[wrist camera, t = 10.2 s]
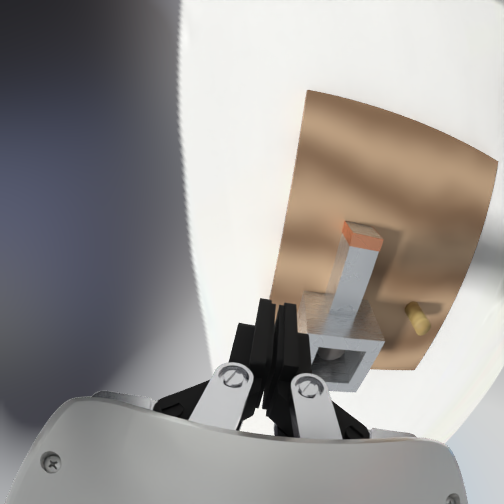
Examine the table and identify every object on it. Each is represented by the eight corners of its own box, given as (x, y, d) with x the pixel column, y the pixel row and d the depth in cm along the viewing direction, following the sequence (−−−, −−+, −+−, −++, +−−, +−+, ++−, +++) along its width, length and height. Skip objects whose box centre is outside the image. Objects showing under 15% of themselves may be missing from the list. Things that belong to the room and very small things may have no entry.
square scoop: (346, 349, 26) (355, 392, 21) (288, 342, 27) (288, 386, 21) (391, 230, 21) (420, 260, 16) (321, 216, 21) (334, 243, 16)
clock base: (306, 92, 19) (312, 78, 14) (491, 160, 18) (523, 168, 13) (258, 349, 29) (253, 384, 24) (411, 363, 28) (423, 393, 23)
